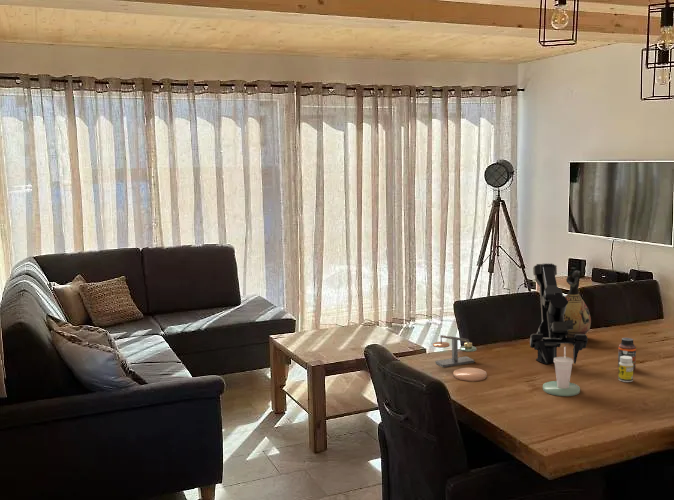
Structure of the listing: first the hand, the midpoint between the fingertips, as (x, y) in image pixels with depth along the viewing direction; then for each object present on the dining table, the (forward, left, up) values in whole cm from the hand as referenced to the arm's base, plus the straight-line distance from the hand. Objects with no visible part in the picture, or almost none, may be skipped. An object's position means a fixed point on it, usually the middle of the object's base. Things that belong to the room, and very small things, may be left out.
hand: (560, 362), depth 225 cm
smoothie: (0, +1, -8) cm, 8 cm away
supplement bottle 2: (-26, +2, -9) cm, 28 cm away
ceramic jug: (-46, -50, -9) cm, 68 cm away
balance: (+17, -42, -9) cm, 46 cm away
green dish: (+1, +1, -9) cm, 9 cm away
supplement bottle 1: (-36, -8, -9) cm, 38 cm away
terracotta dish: (+20, -26, -9) cm, 34 cm away
